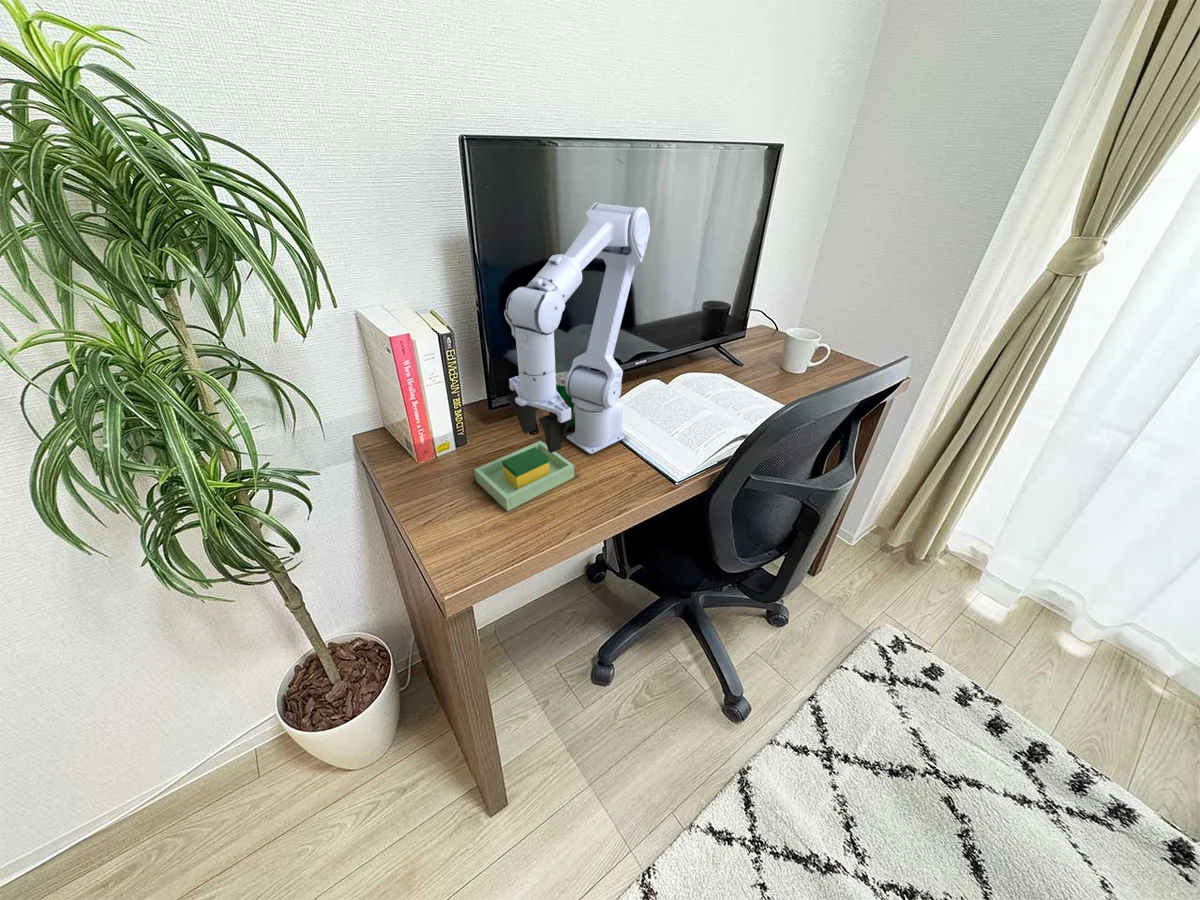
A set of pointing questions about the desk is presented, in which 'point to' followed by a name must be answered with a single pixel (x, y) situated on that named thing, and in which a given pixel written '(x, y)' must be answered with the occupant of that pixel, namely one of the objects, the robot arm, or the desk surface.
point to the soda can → (565, 395)
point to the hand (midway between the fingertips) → (541, 440)
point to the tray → (511, 498)
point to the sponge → (526, 468)
